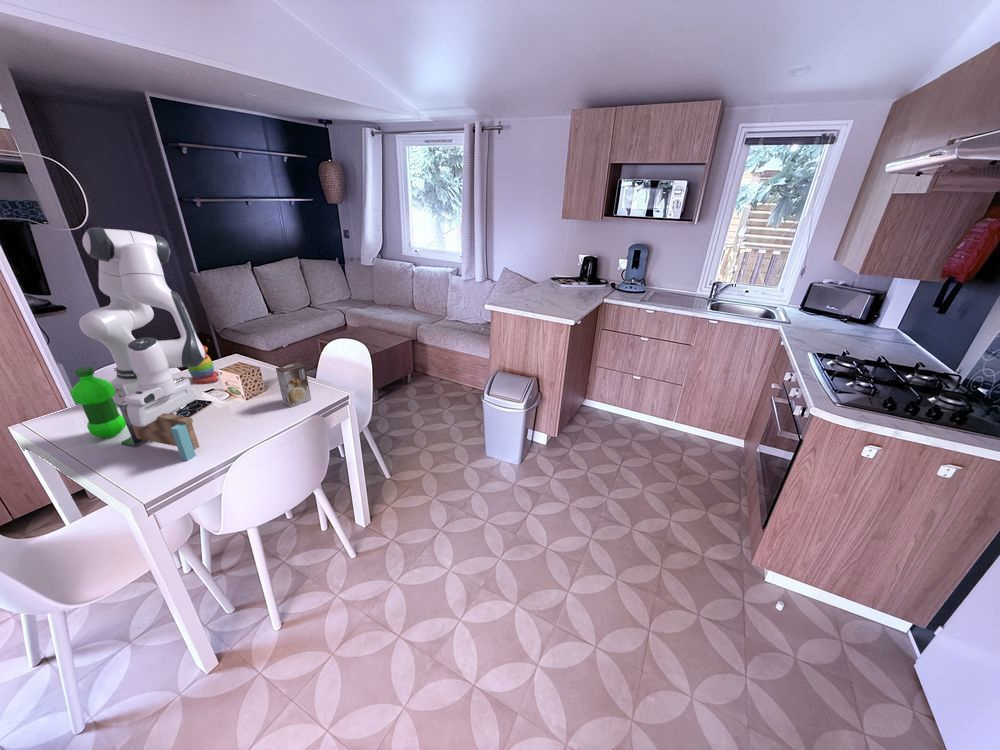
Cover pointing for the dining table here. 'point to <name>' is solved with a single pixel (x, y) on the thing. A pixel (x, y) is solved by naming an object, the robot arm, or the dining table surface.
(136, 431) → the gate
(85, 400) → the plastic bottle
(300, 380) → the coffee box
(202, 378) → the stacking bear
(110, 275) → the robot arm
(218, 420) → the dining table surface
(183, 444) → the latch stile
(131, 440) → the hinge post
